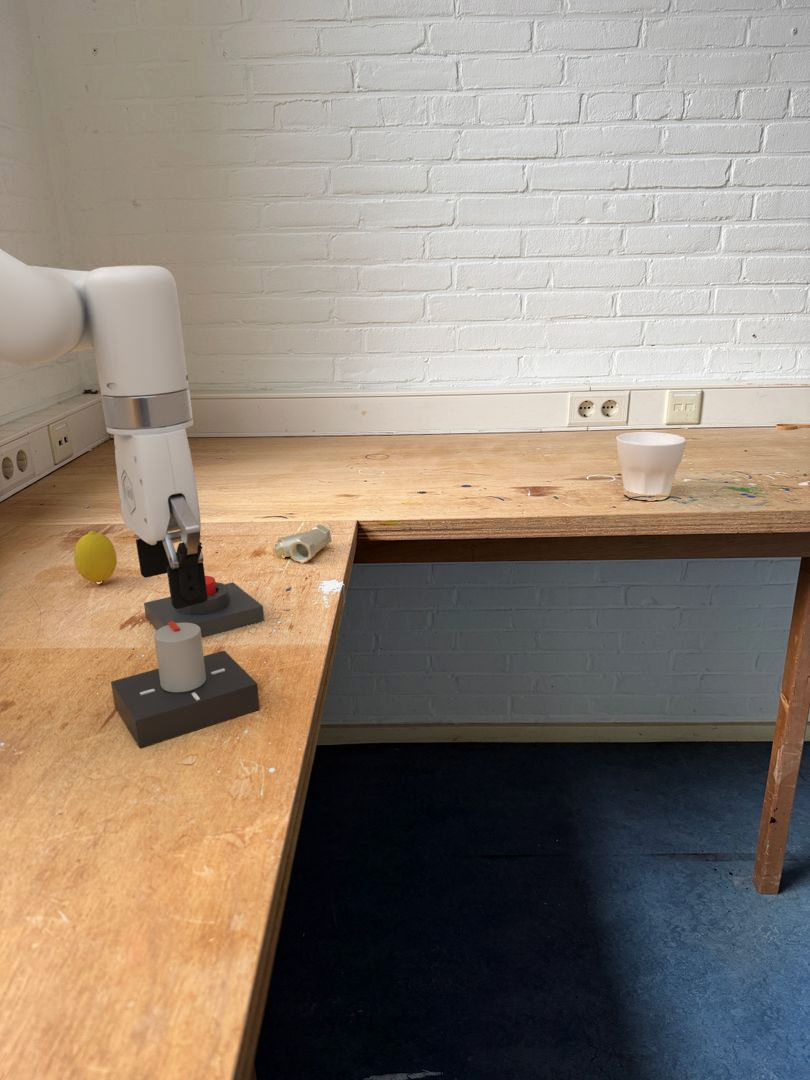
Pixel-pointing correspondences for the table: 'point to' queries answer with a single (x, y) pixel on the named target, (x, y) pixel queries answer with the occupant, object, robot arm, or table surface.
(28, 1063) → the table surface
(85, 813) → the table surface
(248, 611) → the switch block
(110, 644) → the table surface
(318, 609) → the table surface
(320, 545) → the pipe fitting
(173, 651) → the timer dial
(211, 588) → the power button
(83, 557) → the lemon
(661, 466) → the cup
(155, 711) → the panel
